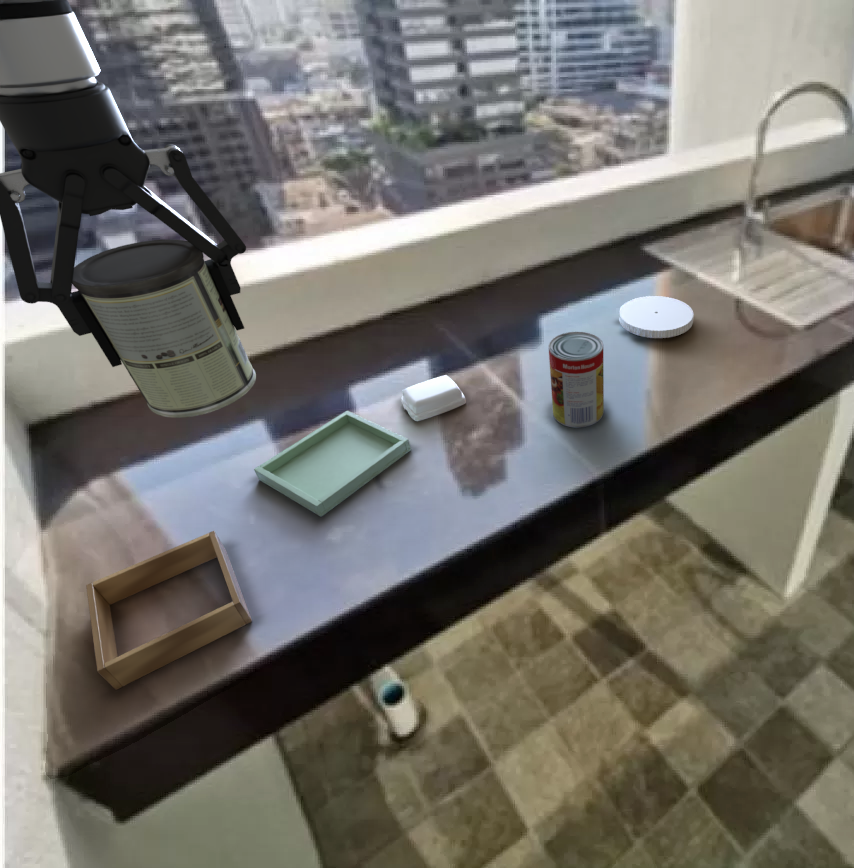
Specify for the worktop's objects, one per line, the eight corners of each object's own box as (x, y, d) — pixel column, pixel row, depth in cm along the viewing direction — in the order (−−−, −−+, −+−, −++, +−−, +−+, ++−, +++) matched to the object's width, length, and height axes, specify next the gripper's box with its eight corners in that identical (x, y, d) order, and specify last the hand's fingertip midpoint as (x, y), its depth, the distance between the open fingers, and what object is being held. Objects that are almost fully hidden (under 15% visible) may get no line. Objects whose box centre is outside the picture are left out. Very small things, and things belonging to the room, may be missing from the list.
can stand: (116, 690, 59) (96, 671, 57) (102, 604, 67) (85, 584, 65) (252, 621, 65) (240, 602, 63) (225, 549, 73) (214, 530, 71)
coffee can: (128, 396, 62) (47, 266, 53) (225, 352, 69) (167, 230, 60) (177, 432, 58) (98, 297, 49) (276, 382, 64) (223, 254, 55)
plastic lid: (611, 338, 111) (612, 326, 110) (627, 304, 122) (627, 292, 120) (687, 347, 109) (688, 334, 107) (696, 311, 119) (697, 299, 118)
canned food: (594, 393, 98) (593, 327, 90) (610, 421, 92) (610, 353, 84) (547, 402, 96) (542, 336, 88) (560, 432, 90) (556, 363, 82)
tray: (321, 517, 77) (316, 506, 76) (258, 480, 82) (253, 469, 81) (411, 449, 87) (408, 439, 86) (350, 420, 93) (347, 410, 91)
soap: (415, 423, 92) (411, 408, 90) (399, 401, 96) (395, 386, 94) (469, 403, 96) (466, 388, 94) (451, 383, 100) (448, 368, 98)
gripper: (200, 62, 53) (286, 294, 67) (-154, 96, 42) (36, 364, 56) (220, 73, 48) (307, 320, 63) (-172, 115, 38) (40, 401, 52)
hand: (179, 341), depth 60 cm, fingers closed on coffee can, 10 cm apart
